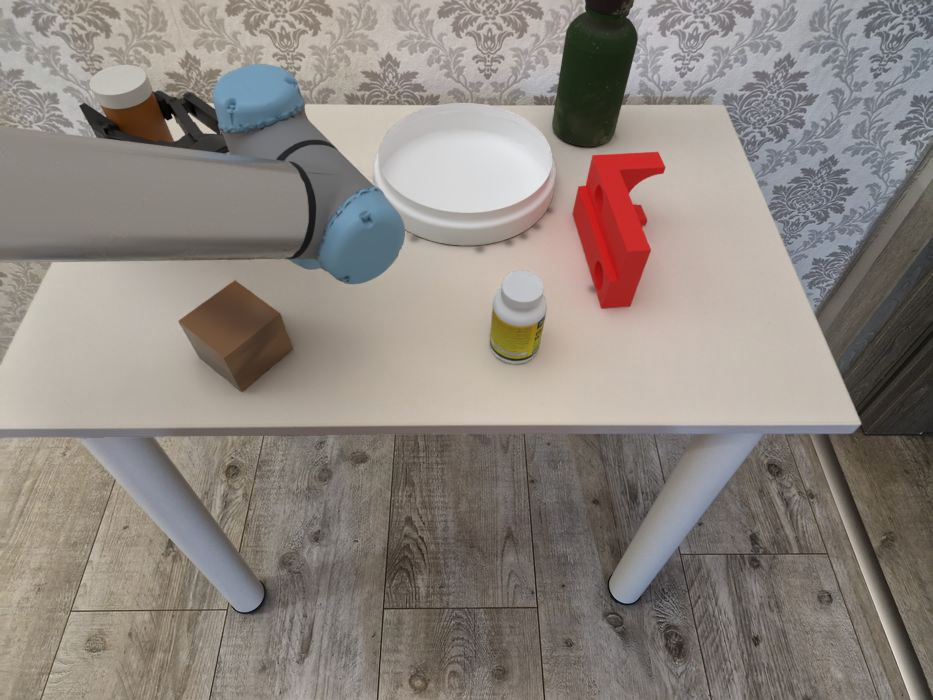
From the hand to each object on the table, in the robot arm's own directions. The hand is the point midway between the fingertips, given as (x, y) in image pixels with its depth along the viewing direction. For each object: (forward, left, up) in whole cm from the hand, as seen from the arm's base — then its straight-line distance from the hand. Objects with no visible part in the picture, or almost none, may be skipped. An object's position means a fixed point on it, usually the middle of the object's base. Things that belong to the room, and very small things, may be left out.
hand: (111, 102), depth 76 cm
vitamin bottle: (+2, -5, -6) cm, 8 cm away
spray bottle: (+66, -11, -16) cm, 69 cm away
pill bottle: (+34, -45, -16) cm, 59 cm away
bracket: (+55, -38, -16) cm, 69 cm away
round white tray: (+42, -15, -16) cm, 48 cm away
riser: (+4, -32, -16) cm, 36 cm away
